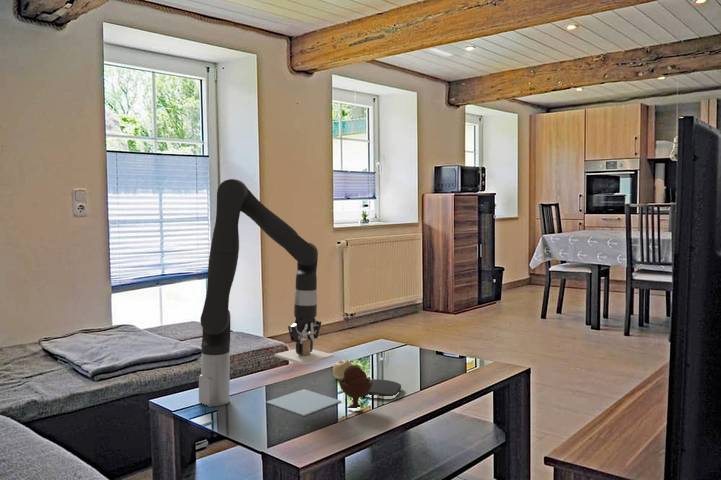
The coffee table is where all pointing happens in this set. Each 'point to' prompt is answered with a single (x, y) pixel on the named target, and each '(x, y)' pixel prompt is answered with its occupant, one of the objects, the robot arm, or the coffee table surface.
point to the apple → (340, 368)
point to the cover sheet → (303, 358)
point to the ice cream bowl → (355, 384)
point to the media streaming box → (384, 388)
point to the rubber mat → (303, 402)
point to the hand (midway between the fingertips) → (304, 352)
